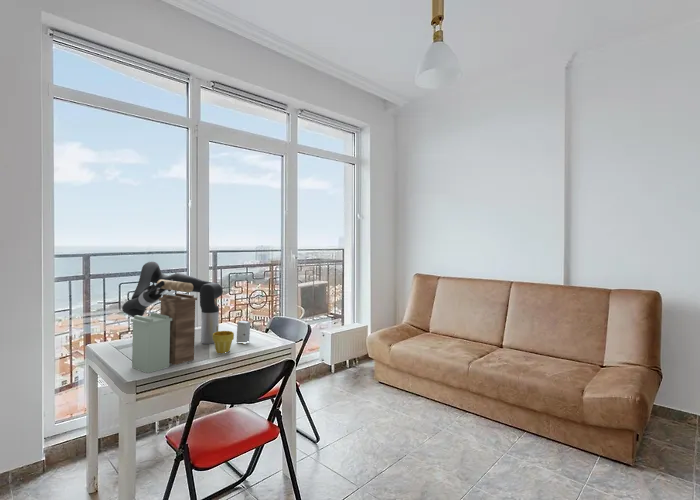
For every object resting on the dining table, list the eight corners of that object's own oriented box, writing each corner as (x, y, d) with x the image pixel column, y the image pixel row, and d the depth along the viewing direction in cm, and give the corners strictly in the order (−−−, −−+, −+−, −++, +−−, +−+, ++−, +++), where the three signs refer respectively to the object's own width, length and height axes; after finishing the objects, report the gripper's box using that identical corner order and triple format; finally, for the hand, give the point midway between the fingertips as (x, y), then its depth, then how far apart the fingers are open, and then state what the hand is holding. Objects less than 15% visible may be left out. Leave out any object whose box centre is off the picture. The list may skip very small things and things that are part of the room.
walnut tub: (157, 360, 180) (158, 295, 180) (180, 354, 191) (181, 292, 190) (173, 365, 174) (174, 297, 173) (195, 359, 184) (197, 294, 184)
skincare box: (236, 343, 214) (236, 321, 214) (241, 341, 219) (241, 320, 218) (245, 344, 212) (245, 323, 212) (250, 342, 216) (250, 321, 216)
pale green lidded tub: (129, 368, 169) (130, 316, 169) (155, 361, 179) (156, 312, 179) (145, 373, 163) (146, 319, 162) (171, 366, 173) (172, 315, 173)
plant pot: (227, 355, 192) (227, 336, 191) (208, 353, 194) (208, 334, 193) (236, 349, 202) (237, 331, 202) (218, 348, 204) (219, 330, 203)
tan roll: (156, 288, 187) (156, 279, 187) (164, 287, 191) (165, 279, 190) (185, 293, 175) (185, 283, 175) (193, 292, 179) (193, 282, 179)
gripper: (133, 291, 188) (152, 275, 180) (161, 288, 200) (179, 274, 193) (138, 305, 186) (156, 290, 179) (165, 301, 199) (183, 287, 191)
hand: (168, 282), depth 186 cm, fingers closed on tan roll, 4 cm apart
